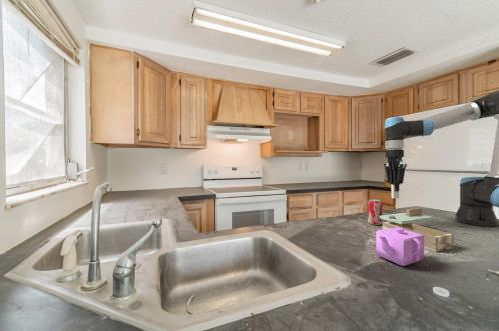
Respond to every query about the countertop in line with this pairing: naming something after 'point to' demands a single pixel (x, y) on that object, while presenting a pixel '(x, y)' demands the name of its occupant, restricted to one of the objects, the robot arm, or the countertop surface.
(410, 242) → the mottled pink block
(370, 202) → the beverage can
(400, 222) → the cover
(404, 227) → the trough
